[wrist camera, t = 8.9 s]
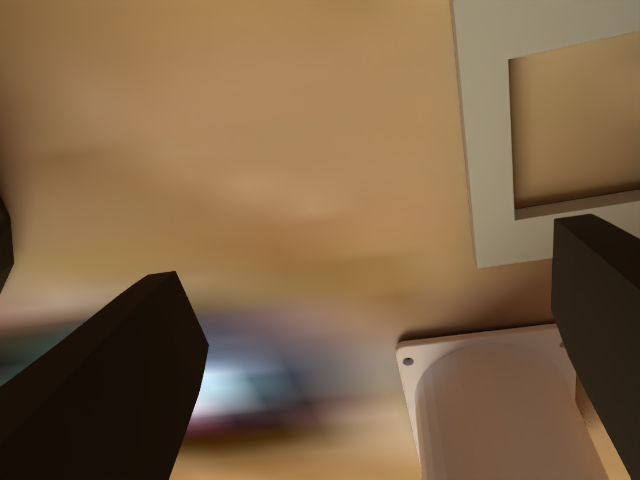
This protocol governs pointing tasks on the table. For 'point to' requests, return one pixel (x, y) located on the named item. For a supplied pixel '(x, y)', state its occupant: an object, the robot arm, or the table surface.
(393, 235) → the table surface
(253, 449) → the table surface
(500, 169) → the keyhole board
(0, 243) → the black tall lumpy piece
